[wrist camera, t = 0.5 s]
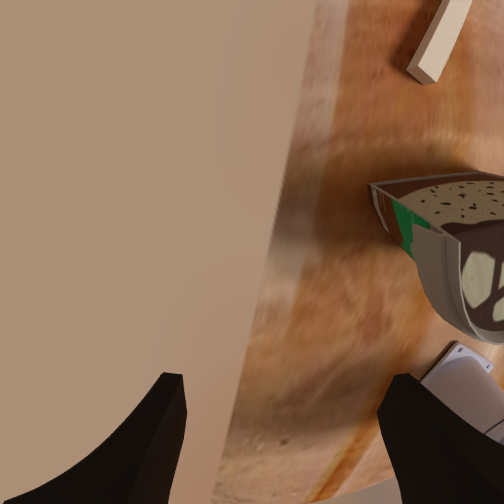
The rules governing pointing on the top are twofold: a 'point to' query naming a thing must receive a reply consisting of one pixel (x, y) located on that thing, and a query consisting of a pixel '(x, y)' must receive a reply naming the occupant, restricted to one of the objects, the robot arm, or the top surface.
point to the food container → (452, 244)
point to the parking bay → (438, 41)
